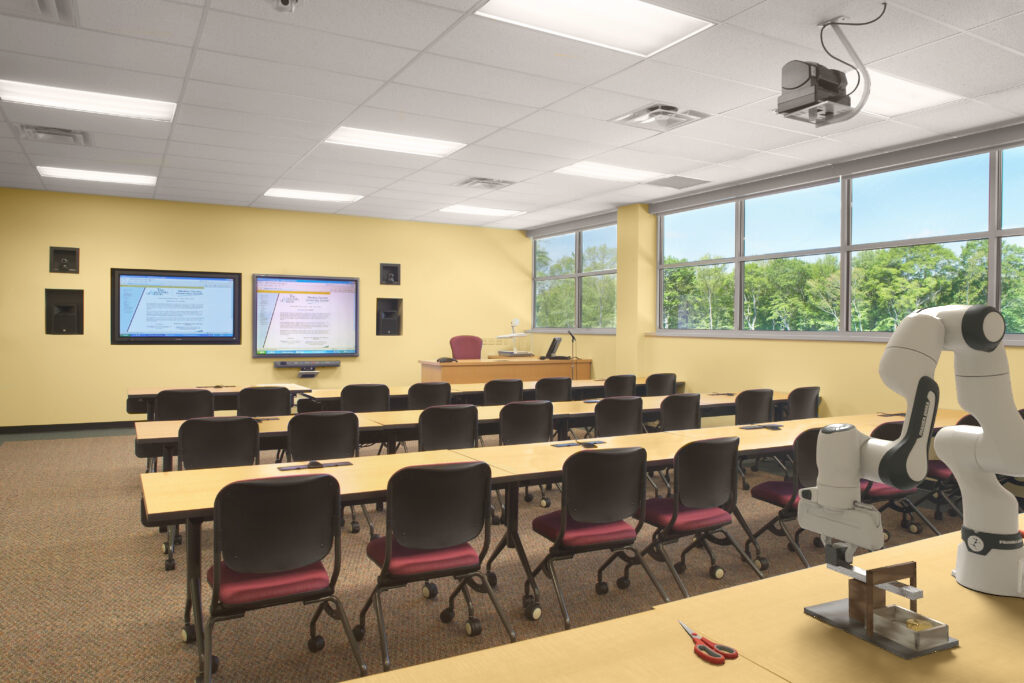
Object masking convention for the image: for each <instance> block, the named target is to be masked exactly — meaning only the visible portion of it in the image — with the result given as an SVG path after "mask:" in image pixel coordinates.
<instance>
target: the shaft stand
mask: <svg viewBox="0 0 1024 683" xmlns="http://www.w3.org/2000/svg"><path fill="white" fill-rule="evenodd" d="M865 570H866V583H865V582H863V581H860V580H857V579H855V578H850V579H848V580H847V581H848V597H845V598H841V599H837V600H832V601H828V602H823V603H819V604H813V605H809V606H806V607H803V613H805V612H806V614H807V613H808V614H807V615H809V614H810V615H809V616H811V615H812V616H811V617H814V616H815V617H814V618H816V617H817V618H816V619H818V618H819V619H818V620H820V619H821V620H820V621H822V620H823V622H824V621H825V622H824V623H826V622H827V624H829V625H831V626H833V627H835V628H837V629H839V630H842V631H844V632H846V633H848V634H851V635H852V636H854V637H857V638H859V639H861V640H863V641H866V642H867V643H869V644H872V645H874V646H875V647H879V648H880V649H882V648H883V650H885V651H887V652H889V653H891V654H893V655H895V656H898V657H899V658H902V659H904V660H906V659H907V661H908V659H909V660H913V659H915V658H918V657H919V656H920V657H923V656H926V655H925V654H927V655H930V654H933V653H932V652H934V653H936V652H935V651H937V652H941V651H944V650H948V649H951V648H954V646H955V647H958V646H960V644H959V642H960V641H959V639H957V638H954V637H951V636H950V633H949V629H950V628H949V624H946V623H944V622H941V621H939V620H936V619H933V618H931V617H928V616H926V615H923V614H920V613H918V607H917V606H918V602H917V600H918V599H916V600H911V599H909V609H908V608H905V607H902V606H900V605H898V604H889V605H887V600H886V598H887V595H886V591H887V590H884V589H882V588H879V587H876V586H874V585H878V584H883V583H888V582H892V581H901V580H906V579H909V586H912V587H915V588H917V587H918V586H917V584H918V583H917V580H918V579H917V571H918V570H917V561H915V560H911V561H906V562H902V563H895V564H891V565H885V566H881V567H875V568H871V569H865ZM909 619H918V620H923V621H926V622H929V623H930V624H932V626H933V628H929V629H925V630H921V631H917V632H916V631H914V630H912V629H909V628H907V620H909ZM940 650H941V651H940ZM929 653H930V654H929ZM920 657H919V658H920ZM912 658H913V659H912Z"/></svg>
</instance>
